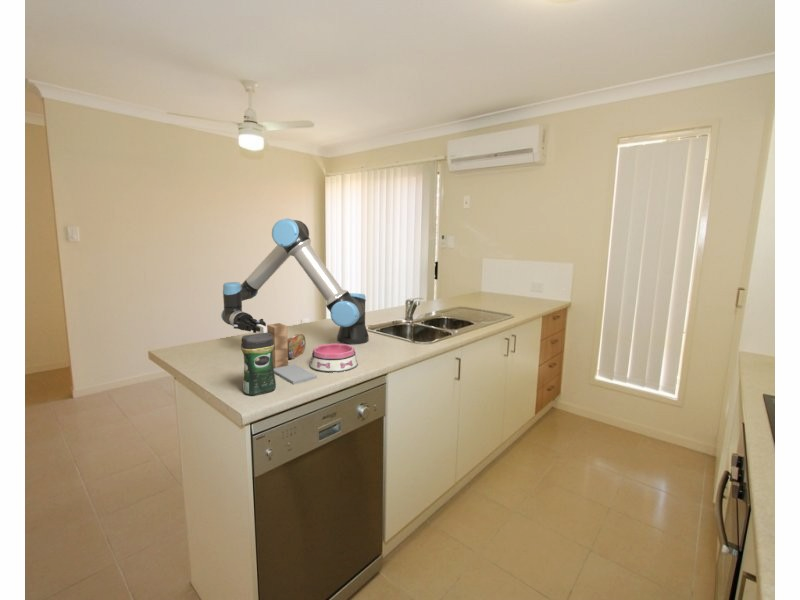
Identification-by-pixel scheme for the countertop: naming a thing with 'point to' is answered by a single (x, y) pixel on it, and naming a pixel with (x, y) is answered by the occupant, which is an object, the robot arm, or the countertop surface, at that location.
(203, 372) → the countertop surface
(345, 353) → the dog bowl
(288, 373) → the mat
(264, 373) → the coffee jar
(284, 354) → the walnut block
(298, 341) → the tin
